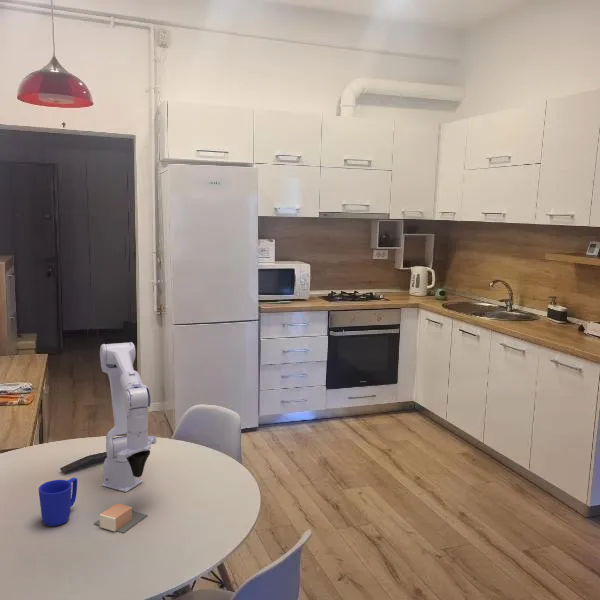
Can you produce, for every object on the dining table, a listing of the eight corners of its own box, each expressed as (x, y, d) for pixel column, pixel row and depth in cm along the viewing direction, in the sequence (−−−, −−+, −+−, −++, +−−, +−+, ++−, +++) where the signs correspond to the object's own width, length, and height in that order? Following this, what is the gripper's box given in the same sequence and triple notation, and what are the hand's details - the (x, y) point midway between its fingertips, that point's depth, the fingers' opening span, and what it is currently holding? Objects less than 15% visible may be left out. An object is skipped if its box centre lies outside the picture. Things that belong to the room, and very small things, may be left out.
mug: (88, 510, 164) (87, 476, 163) (57, 531, 153) (56, 496, 151) (64, 504, 167) (63, 471, 165) (32, 525, 156) (31, 490, 154)
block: (117, 515, 162) (99, 527, 155) (117, 503, 161) (99, 514, 155) (132, 519, 160) (114, 531, 153) (131, 507, 159) (114, 519, 153)
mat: (93, 524, 157) (93, 523, 157) (118, 507, 166) (118, 506, 166) (123, 533, 153) (123, 532, 153) (147, 515, 162) (147, 514, 162)
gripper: (132, 441, 155) (132, 489, 157) (164, 424, 168) (164, 468, 170) (110, 436, 157) (111, 484, 159) (144, 419, 171) (144, 463, 173)
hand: (137, 475), depth 165 cm, fingers closed
